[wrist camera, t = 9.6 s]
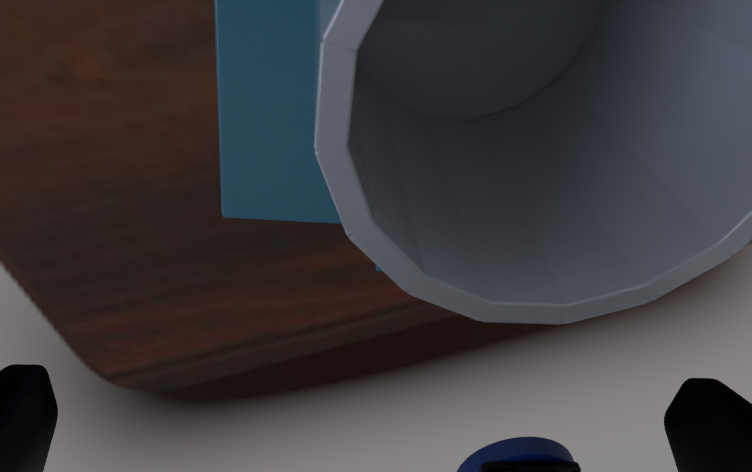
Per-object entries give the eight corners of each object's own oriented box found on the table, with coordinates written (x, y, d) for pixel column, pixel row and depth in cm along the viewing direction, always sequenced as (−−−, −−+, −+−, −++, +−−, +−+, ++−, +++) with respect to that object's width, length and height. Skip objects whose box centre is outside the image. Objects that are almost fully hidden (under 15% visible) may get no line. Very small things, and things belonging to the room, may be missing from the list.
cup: (566, 133, 15) (722, 331, 9) (309, 114, 14) (302, 317, 8) (666, -176, 11) (1033, -174, 5) (327, -228, 10) (341, -290, 5)
